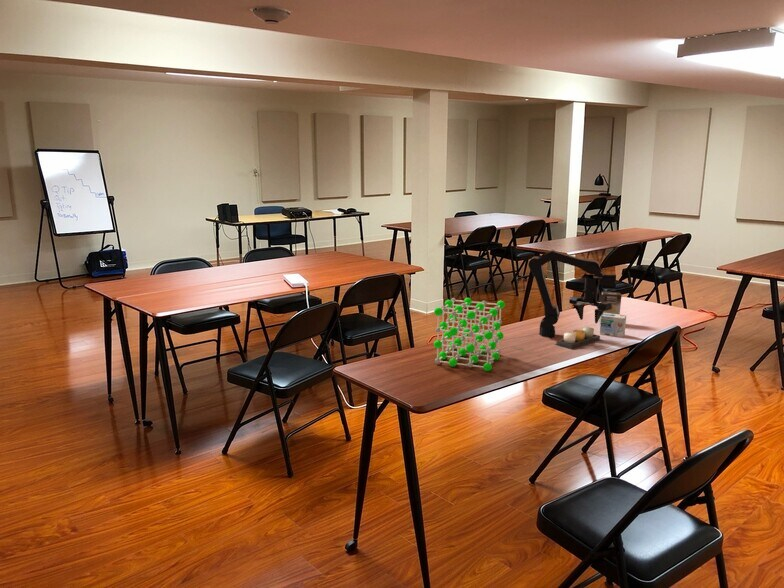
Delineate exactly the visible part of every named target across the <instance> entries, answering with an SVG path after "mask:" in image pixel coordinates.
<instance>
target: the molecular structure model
mask: <svg viewBox="0 0 784 588" xmlns="http://www.w3.org/2000/svg"><path fill="white" fill-rule="evenodd" d="M455 302H460V303H461V302H462V303H461V304H455ZM472 304H476V305H472ZM486 305H491V306H492V305H493V306H494V305H495V306H494V307H490V306H489V307H487V306H486ZM505 306H506V304H505V301H503V300H498V301H497V303H494V302H488V301H486V300H482V301H473V300H472V298H470V297H465V298H464V300H461V299H460V300H459V299H456V298H455V297H452V298H451V299H447V300H445V302H444V305H441V306H440V307H435V309H434V311H433V313H434V315H435V316H437V319H436V320H437V321H436V322H437V324H436V325H437V327H436V328H435V332H436V333H437V334H436V336H437V337H436V340H435V341H434V342H433V347H434V348H436V358H435V359H434V362H435V363H436V364H439V363H444V364H449V366H450V367H451V368H452V367H456V366H457V365H458V366H459V365H460V366H467V367H468V368H472V367H475V368H481V369H482V368H483V370H484V371H485V372H490V371H491V370H492V368H493V365H492V364H493V363H494V361H498V360H499V359H500V354H501V353H502V351H501V349H500V347H501V340H503V339H504V335H505V334H504V332H502V331H501V325H502V324H503V321H502V309H504V308H505ZM465 308H466V309H465ZM469 308H474V309H469ZM446 310H447V311H446ZM450 310H452V311H451V312H450ZM485 310H489V311H485ZM498 311H499V313H498ZM465 312H466V313H465ZM445 314H447V318H446V320H445ZM485 314H486V315H485ZM498 314H499V318H498ZM441 315H442V321H441V322H440V316H441ZM460 316H462V317H460ZM477 317H478V318H477ZM494 318H495V319H494ZM456 320H457V321H456ZM469 321H470V322H469ZM473 321H474V322H473ZM450 323H452V325H450ZM455 324H456V326H455ZM469 326H470V327H469ZM481 327H482V328H481ZM485 327H487V329H485ZM490 327H491V328H490ZM440 332H441V333H442V335H441V338H440V335H439V334H440ZM460 334H461V335H460ZM464 340H465V341H464ZM468 340H469V341H468ZM472 341H473V342H472ZM486 341H487V343H485V342H486ZM445 342H446V344H444V343H445ZM481 342H482V343H481ZM497 344H498V345H497ZM445 347H446V348H445ZM476 347H477V348H476ZM444 348H445V350H444ZM439 349H441V351H440V352H439ZM455 349H456V350H455ZM449 353H452V355H448V354H449ZM485 353H486V354H485ZM489 354H490V355H489ZM466 355H468V356H469V357H467V358H465V356H466ZM479 357H486V360H485V359H484V360H482V359H479ZM446 358H448V359H449V358H450V359H449V360H448V361H447V360H446V361H443V360H445V359H446ZM458 360H465V361H466V360H467V361H468V363H461V362H460V363H459V362H458ZM478 362H483V363H484V364H483V365H476V364H477V363H478ZM474 363H475V364H474Z"/></svg>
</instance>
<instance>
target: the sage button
mask: <svg viewBox="0 0 784 588" xmlns="http://www.w3.org/2000/svg"><path fill="white" fill-rule="evenodd" d="M581 330H583V331H585V337H586V338H591V337H593V334H595V328H593V327H591V326H583V327H582V329H581Z"/></svg>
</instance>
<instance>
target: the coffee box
mask: <svg viewBox="0 0 784 588" xmlns="http://www.w3.org/2000/svg"><path fill="white" fill-rule="evenodd" d="M601 294H602V295H605V298H604V302H609V303H611V304H612V309H610V310H606V311H604V312H603V313H611V314H620V313H621V306H622V304H621V303H622V296H623V295H622V293H621V292H616V291H601ZM603 313H602V314H603ZM602 314H601V316H602ZM620 315H621V314H620ZM601 316H600V318H599V320H598V323H599V325H600V324H601Z"/></svg>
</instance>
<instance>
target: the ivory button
mask: <svg viewBox="0 0 784 588" xmlns="http://www.w3.org/2000/svg"><path fill="white" fill-rule="evenodd" d="M575 338H576V334H574V333H573V332H563V339H564V342H565V343H569V344H573V343H575Z"/></svg>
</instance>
